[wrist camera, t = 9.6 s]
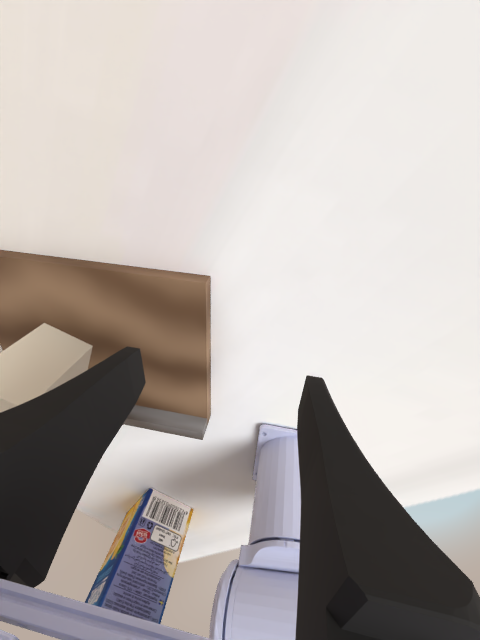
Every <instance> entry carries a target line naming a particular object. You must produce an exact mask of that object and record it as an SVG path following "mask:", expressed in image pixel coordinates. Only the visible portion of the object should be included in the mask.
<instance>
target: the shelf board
mask: <svg viewBox="0 0 480 640" xmlns="http://www.w3.org/2000/svg"><path fill="white" fill-rule="evenodd" d="M43 323H46V324H48V325H50V326H52V327H54V328H56V329H58V330H60V331H63V332H65V333H67V334H69V335H71V336H73V337H75V338H77V339H79V340H81V341H83V342H86V343H88V344H90V345H92V346H93V347H92V352H91V357H90V361H89V366H88V369H90V368H92V367H93V366H95V365H97V364H98V363H100V362H102V361H103V360H105V359H106V358H108V357H110V356H111V355H113V354H115V353H116V352H118V351H120V350H121V349H123V348H125V347H127V346H128V347H134V348H140V351H141V357H142V363H143V369H144V375H145V381H146V383H145V386H144V388H143V390H142V392H141V394H140V396H139V398H138V400H137V402H136V404H135V406H134V407H133V409H132V411H131V412H130V414H129V415H128V417H127V418H126V420H125V422H124V423H123V424H125V425H130V426H135V427H140V428H145V429H150V430H155V431H160V432H165V433H170V434H175V435H180V436H185V437H190V438H195V439H200V440H203V437H204V434H205V431H206V428H207V425H208V422H209V419H210V416H211V343H210V276H205V275H197V274H189V273H181V272H173V271H165V270H157V269H149V268H141V267H133V266H125V265H117V264H109V263H101V262H93V261H85V260H77V259H69V258H60V257H52V256H44V255H36V254H28V253H20V252H12V251H4V250H0V345H1V347H2V349H3V351H4V350H5V349H7V348H8V347H10V346H11V345H12V344H14V343H15V342H17V341H18V340H20V339H21V338H23V337H24V336H26V335H27V334H29V333H30V332H32V331H33V330H34V329H36V328H37V327H39V326H40V325H42V324H43Z"/></svg>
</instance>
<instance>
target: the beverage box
mask: <svg viewBox="0 0 480 640" xmlns="http://www.w3.org/2000/svg"><path fill="white" fill-rule="evenodd" d="M192 513H193V508H191V507H189V506H187V505H185V504H183V503H181V502H179V501H177V500H175V499H173V498H171V497H168V496H166V495H164V494H162V493H160V492H158V491H156V490H154V489H152V488H149V489H148V491H147V492H146V493H145V494H144V495H143V496H142V497H141V498H140V499H139V500H138V501H137V503H136V504H135V505H134V506H133V507H132V508H131V509H130V510H129V511H128V512H127V514H126V516H125V518H124V520H123V522H122V525H121V527H120V529H119V531H118V533H117V535H116V537H115V540H114V542H113V544H112V546H111V548H110V550H109V552H108V554H107V556H106V559H105V561H104V563H103V565H102V567H101V569H100V571H99V573H98V575H97V578H96V580H95V582H94V584H93V586H92V588H91V591H90V592H89V595H88V597H87V599H86V601H85V603H88V604H91V605H95V606H98V607H101V608H105V609H108V610H112V611H115V612H119V613H122V614H126V615H129V616H133V617H136V618H140V619H143V620H147V621H150V622H154V623H157V624H160V622H161V619H162V616H163V612H164V609H165V605H166V602H167V598H168V595H169V592H170V588H171V585H172V581H173V578H174V574H175V571H176V568H177V564H178V561H179V557H180V554H181V550H182V547H183V544H184V540H185V537H186V533H187V530H188V526H189V523H190V520H191V516H192Z"/></svg>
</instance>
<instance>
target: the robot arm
mask: <svg viewBox="0 0 480 640" xmlns="http://www.w3.org/2000/svg"><path fill="white" fill-rule="evenodd" d="M145 383H146V381H145V375H144V369H143V363H142V357H141V351H140V348H134V347H128V346H127V347H125V348H123V349H121V350H120V351H118V352H116V353H115V354H113V355H111V356H110V357H108V358H106V359H105V360H103V361H102V362H100V363H98V364H97V365H95V366H93V367H92V368H90V369H88V370H87V371H85V372H83V373H81V374H80V375H78V376H76V377H74V378H72V379H71V380H69V381H67V382H65V383H63V384H62V385H60V386H58V387H56V388H54V389H52V390H50V391H48V392H46V393H44V394H42V395H40V396H38V397H36V398H34V399H32V400H29V401H27V402H25V403H23V404H20V405H18V406H16V407H13V408H11V409H8V410H6V411H3V412H1V413H0V621H3V622H6V623H9V624H12V625H16V626H19V627H22V628H26V629H29V630H32V631H35V632H38V633H42V634H45V635H48V636H51V637H55V638H58V639H61V640H480V597H479V595H478V593H477V591H476V589H475V587H474V585H473V583H472V581H470V579H469V578H468V577H467V576H466V575H465V574H464V573H463V572H462V571H461V570H460V569H459V568H458V567H457V566H456V565H455V564H454V563H453V562H452V561H451V560H450V559H449V558H448V557H447V556H446V555H445V554H444V553H443V552H442V551H441V550H440V549H439V548H438V547H437V545H436V544H435V543H434V542H433V541H432V540H431V539H430V538H429V537H428V536H427V535H426V534H425V532H424V531H423V530H422V529H421V528H420V527H419V526H418V525H417V523H416V522H415V521H414V520H413V519H412V518H411V516H410V515H409V514H408V513H407V512H406V510H405V509H404V508H403V507H402V505H401V504H400V503H399V502H398V501H397V499H396V498H395V497H394V496H393V495H392V493H391V492H390V491H389V490H388V488H387V487H386V486H385V484H384V483H383V482H382V480H381V479H380V478H379V476H378V475H377V474H376V472H375V471H374V469H373V468H372V467H371V465H370V464H369V462H368V461H367V459H366V458H365V456H364V455H363V453H362V452H361V450H360V449H359V447H358V446H357V444H356V442H355V441H354V439H353V437H352V436H351V434H350V432H349V431H348V429H347V427H346V425H345V423H344V422H343V420H342V418H341V416H340V414H339V412H338V410H337V408H336V406H335V404H334V402H333V400H332V398H331V396H330V394H329V391H328V389H327V387H326V384H325V382H324V380H323V379H322V378H319V377H313V376H306V380H305V384H304V388H303V392H302V397H301V401H300V405H299V409H298V425H297V430H293V429H288V428H282V427H277V426H272V425H266V424H263V425H261V426H260V429H259V436H258V443H257V450H256V457H255V464H254V470H253V477H252V478H253V480H255V481H256V489H255V497H254V505H253V512H252V520H251V528H250V536H249V544H248V545H241V550H240V557H239V560H237V559H236V560H233V561H232V562H231V563H230V564H229V565H228V567H227V569H226V570H225V571H224V573H223V574H222V576H221V578H220V581H219V583H218V586H217V590H216V594H215V598H214V603H213V608H212V615H211V623H210V638H206V637H202V636H199V635H196V634H192V633H189V632H185V631H182V630H178V629H175V628H171V627H168V626H164V625H161V624H157V623H154V622H150V621H147V620H143V619H140V618H136V617H133V616H129V615H126V614H122V613H119V612H115V611H112V610H108V609H105V608H101V607H98V606H95V605H91V604H88V603H84V602H80V601H77V600H74V599H70V598H67V597H63V596H60V595H56V594H53V593H49V592H45V591H42V590H39V589H35V588H34V587H36V586H37V585H39V584H40V583H41V582H43V581H44V580H45V578H46V575H47V573H48V570H49V568H50V566H51V563H52V561H53V559H54V556H55V554H56V552H57V549H58V547H59V544H60V542H61V539H62V537H63V535H64V533H65V531H66V528H67V526H68V524H69V522H70V520H71V517H72V515H73V513H74V511H75V509H76V507H77V505H78V503H79V501H80V499H81V496H82V494H83V492H84V490H85V488H86V486H87V484H88V482H89V480H90V478H91V476H92V475H93V473H94V471H95V469H96V467H97V465H98V463H99V461H100V459H101V458H102V456H103V454H104V453H105V451H106V449H107V448H108V446H109V445H110V443H111V441H112V440H113V438H114V437H115V435H116V434H117V432H118V431H119V429H120V428H121V426H122V425H123V423H124V422H125V420H126V418H127V417H128V415H129V414H130V412H131V411H132V409H133V407H134V406H135V404H136V402H137V400H138V398H139V396H140V394H141V392H142V390H143V388H144V386H145ZM0 640H19V639H18V638H17V637H16V636H15V635H13V634H10V633H7V632H5V631H3V630H0Z"/></svg>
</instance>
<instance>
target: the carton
mask: <svg viewBox="0 0 480 640" xmlns="http://www.w3.org/2000/svg"><path fill="white" fill-rule="evenodd" d="M92 347H93V346H92V345H90V344H88V343H86V342H83V341H81V340H79V339H77V338H75V337H73V336H71V335H69V334H67V333H65V332H63V331H60V330H58V329H56V328H54V327H52V326H50V325H48V324H46V323H43V324H42V325H40V326H39V327H37V328H36V329H34V330H33V331H32V332H30V333H29V334H27V335H26V336H24V337H23V338H21V339H20V340H18V341H17V342H15V343H14V344H12V345H11V346H10V347H8V348H7V349H5V350H4V351H2V352H1V353H0V413H1V412H3V411H6V410H8V409H11V408H13V407H16V406H18V405H20V404H23V403H25V402H27V401H29V400H32V399H34V398H36V397H38V396H40V395H42V394H44V393H46V392H48V391H50V390H52V389H54V388H56V387H58V386H60V385H62V384H63V383H65V382H67V381H69V380H71V379H72V378H74V377H76V376H78V375H80V374H81V373H83V372H85V371H87V370H88V366H89V361H90V357H91V352H92Z"/></svg>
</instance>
